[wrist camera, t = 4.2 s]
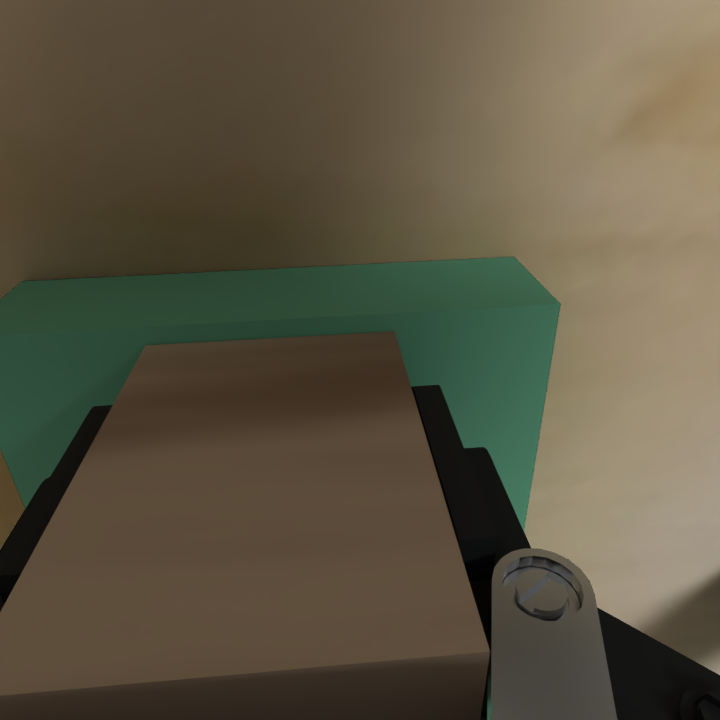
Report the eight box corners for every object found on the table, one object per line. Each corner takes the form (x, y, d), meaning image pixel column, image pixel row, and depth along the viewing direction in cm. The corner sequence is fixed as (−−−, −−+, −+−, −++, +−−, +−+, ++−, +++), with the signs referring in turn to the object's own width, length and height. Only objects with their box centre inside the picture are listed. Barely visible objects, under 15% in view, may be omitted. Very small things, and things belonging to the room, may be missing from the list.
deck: (22, 281, 14) (-136, 409, 9) (513, 256, 14) (618, 362, 9) (198, 809, 26) (174, 981, 21) (454, 783, 27) (486, 942, 22)
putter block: (145, 344, 11) (-47, 699, 5) (394, 331, 12) (490, 652, 5) (195, 556, 14) (110, 941, 8) (393, 540, 14) (453, 900, 8)
